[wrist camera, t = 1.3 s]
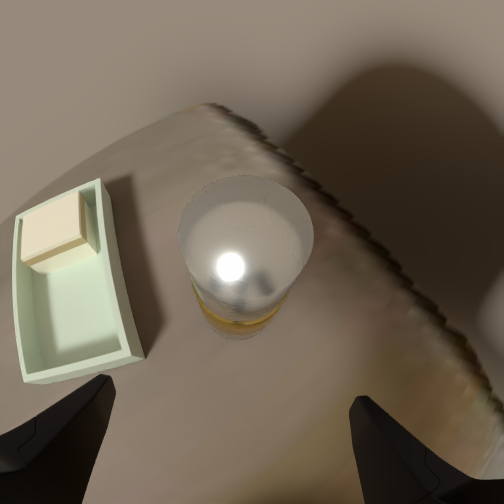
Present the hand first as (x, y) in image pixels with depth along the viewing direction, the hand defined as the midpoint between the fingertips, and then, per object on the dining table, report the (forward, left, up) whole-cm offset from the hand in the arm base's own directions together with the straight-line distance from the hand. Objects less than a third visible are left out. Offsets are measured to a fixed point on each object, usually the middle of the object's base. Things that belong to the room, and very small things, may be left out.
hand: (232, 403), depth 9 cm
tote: (+17, +4, -13) cm, 22 cm away
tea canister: (+4, -6, -13) cm, 15 cm away
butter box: (+21, +2, -12) cm, 24 cm away
